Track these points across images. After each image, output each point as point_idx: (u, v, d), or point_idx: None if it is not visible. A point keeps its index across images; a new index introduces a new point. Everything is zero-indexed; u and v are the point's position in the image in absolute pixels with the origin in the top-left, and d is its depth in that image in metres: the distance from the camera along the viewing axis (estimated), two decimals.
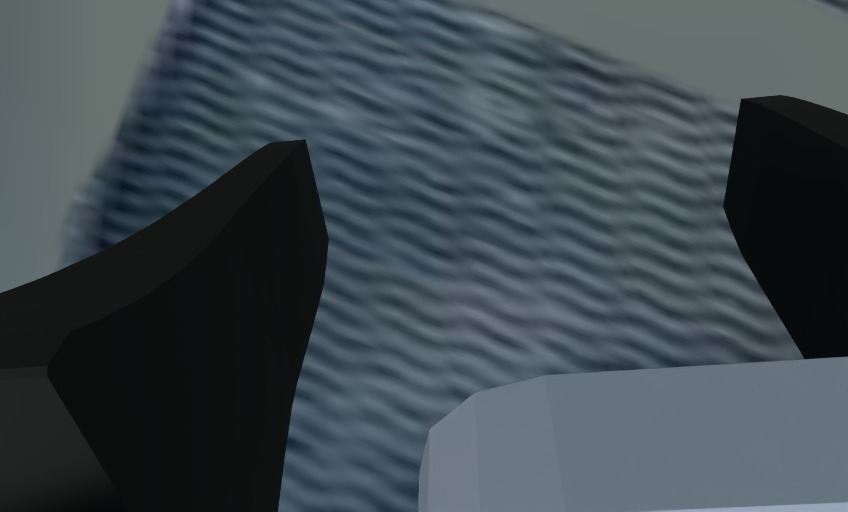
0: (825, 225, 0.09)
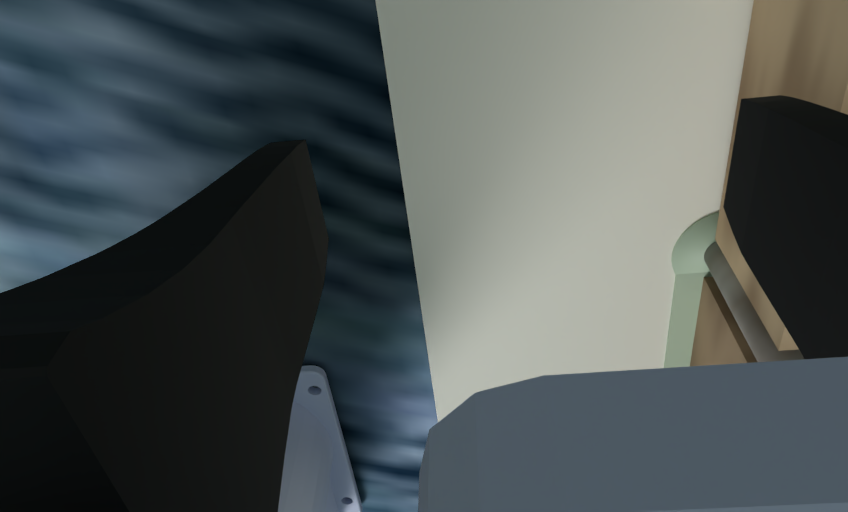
0: (825, 226, 0.09)
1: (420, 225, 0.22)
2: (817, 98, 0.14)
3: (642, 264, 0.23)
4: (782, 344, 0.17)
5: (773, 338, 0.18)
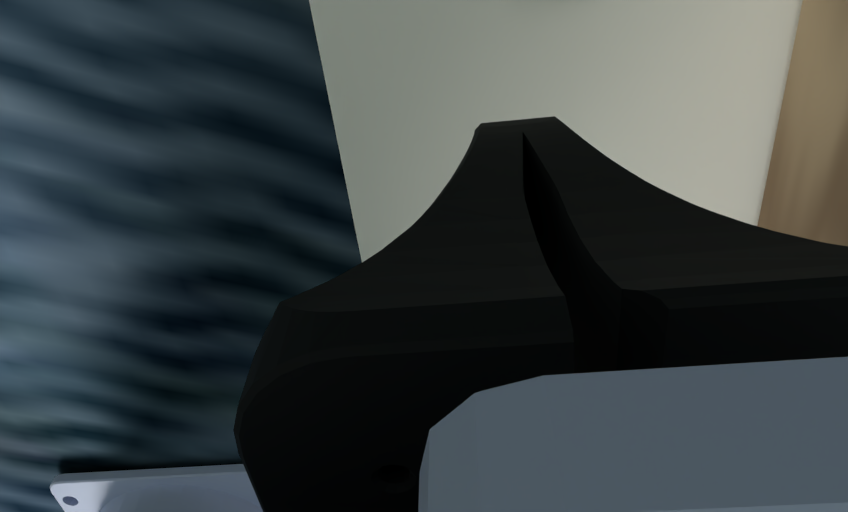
0: (549, 247, 0.09)
1: None
2: None
3: None
4: None
5: None
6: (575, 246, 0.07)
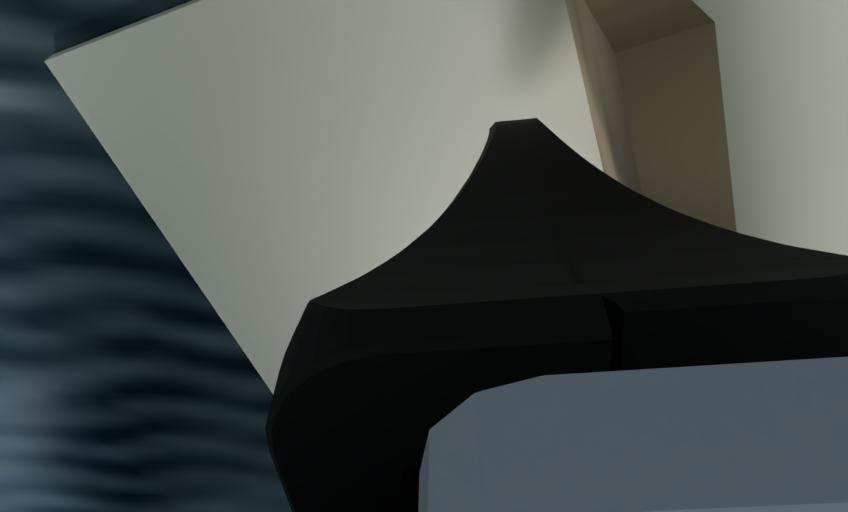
0: None
1: None
2: None
3: None
4: None
5: None
6: None
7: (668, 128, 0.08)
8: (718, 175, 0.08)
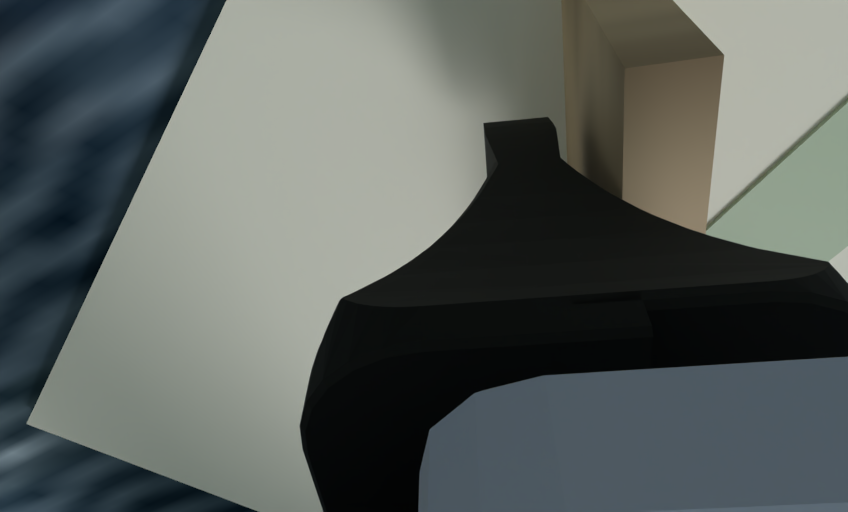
0: None
1: None
2: None
3: None
4: None
5: None
6: None
7: (660, 151, 0.08)
8: (697, 205, 0.08)
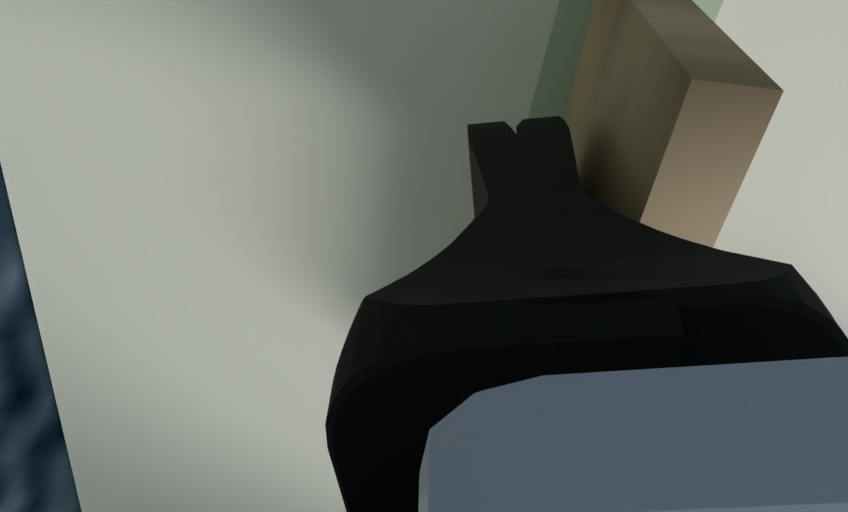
0: None
1: None
2: None
3: None
4: None
5: None
6: None
7: (695, 168, 0.08)
8: (709, 229, 0.08)
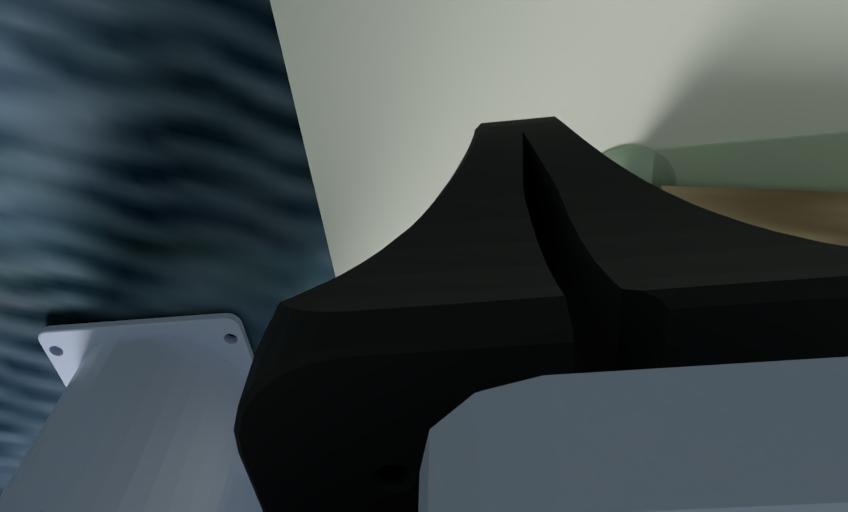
0: (550, 246, 0.09)
1: (320, 162, 0.22)
2: None
3: None
4: None
5: None
6: (575, 246, 0.07)
7: None
8: None
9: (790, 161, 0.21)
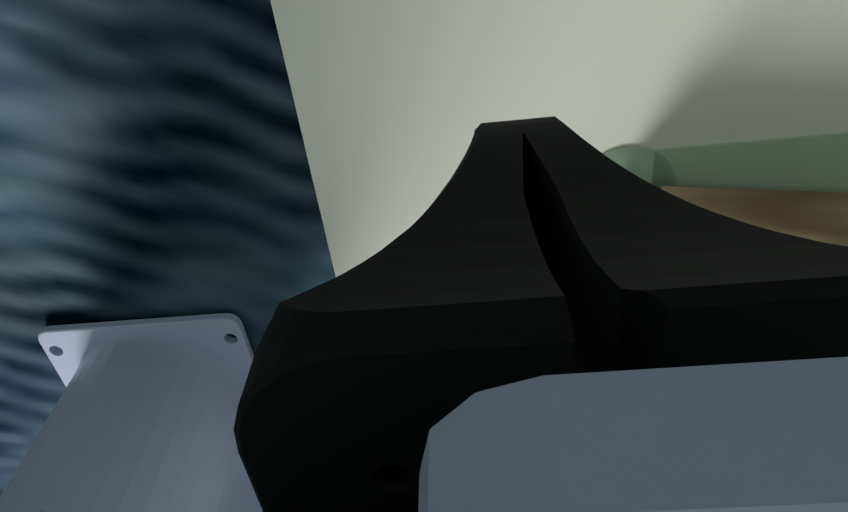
0: (549, 247, 0.09)
1: (320, 162, 0.22)
2: None
3: None
4: None
5: None
6: (575, 246, 0.07)
7: None
8: None
9: (790, 162, 0.21)
